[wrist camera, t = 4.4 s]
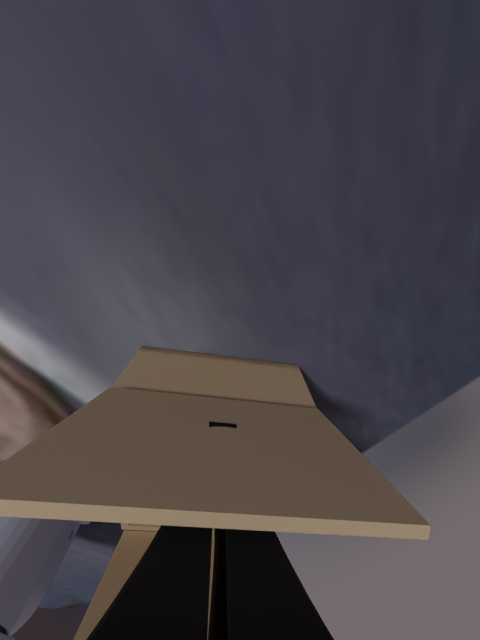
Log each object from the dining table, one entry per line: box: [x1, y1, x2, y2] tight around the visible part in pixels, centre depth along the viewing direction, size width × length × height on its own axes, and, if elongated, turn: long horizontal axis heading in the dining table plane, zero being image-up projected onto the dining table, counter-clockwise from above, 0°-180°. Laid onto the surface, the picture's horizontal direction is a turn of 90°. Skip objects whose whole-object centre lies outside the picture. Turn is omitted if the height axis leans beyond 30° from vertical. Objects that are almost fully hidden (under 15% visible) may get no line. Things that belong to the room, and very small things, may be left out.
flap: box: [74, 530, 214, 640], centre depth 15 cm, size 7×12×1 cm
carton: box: [112, 346, 317, 534], centre depth 18 cm, size 14×12×5 cm
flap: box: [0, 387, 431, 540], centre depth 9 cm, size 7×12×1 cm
